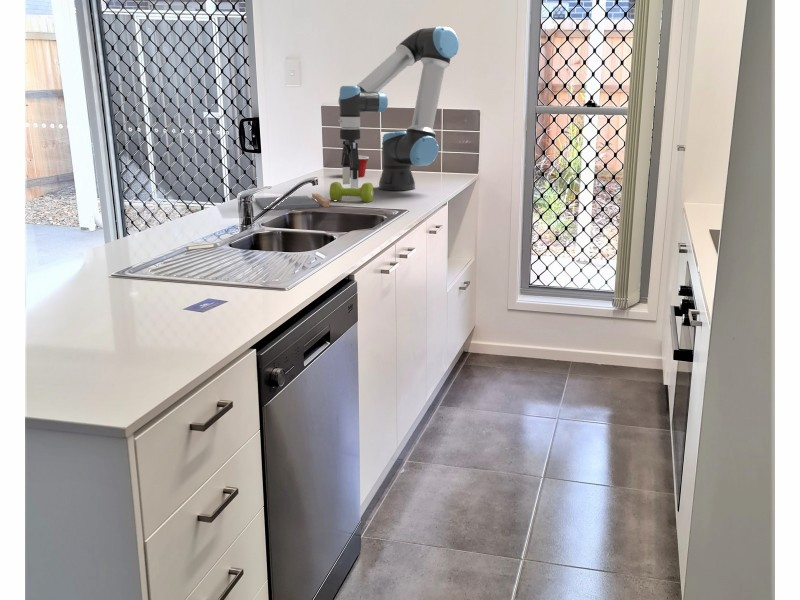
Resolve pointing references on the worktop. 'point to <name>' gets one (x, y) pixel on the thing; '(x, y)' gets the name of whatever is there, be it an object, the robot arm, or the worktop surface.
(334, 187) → the dumbbell
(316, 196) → the strip
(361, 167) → the plastic cup
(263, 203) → the board
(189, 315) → the worktop surface
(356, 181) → the robot arm
